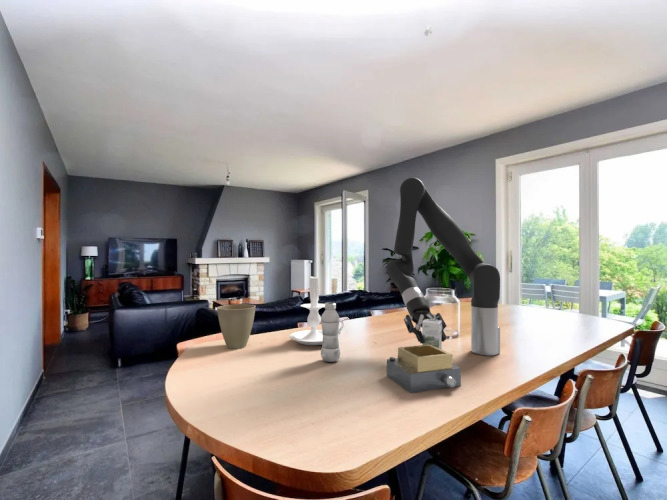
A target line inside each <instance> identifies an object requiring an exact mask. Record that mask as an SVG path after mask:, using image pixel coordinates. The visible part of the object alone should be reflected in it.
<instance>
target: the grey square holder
mask: <svg viewBox="0 0 667 500" xmlns="http://www.w3.org/2000/svg"><path fill="white" fill-rule="evenodd" d="M461 369H462V368H461V367H459V366H457V365H455V364H453V354H452V353H450V352H447V351H445V350H444V349H442V350H441V349H439V348H437V347H434V346H432V345H422V344H419V345H410V346H400V347H397V358H395V357H394V356H393V357H391V356H390V357H389V358H387V359H386V377H388V378H389V379H391V380H392V381H394V382H395V383H396V384H397V385H399V386H400V387H401V388H403V389H404V390H405V391H407V392H408V393H409V394H414V393H422V392H429V391H434V390H435V391H436V390H442V389H450V388H456V387H461V386H462V370H461Z"/></svg>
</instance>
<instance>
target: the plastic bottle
mask: <svg viewBox="0 0 667 500" xmlns="http://www.w3.org/2000/svg"><path fill="white" fill-rule="evenodd" d="M324 304H325V307H324V309H325V310H324V311H323V313H322V315H320V317H321V322H320V324H321V325H320V326H321V330H322V334H323V340H322V344H321V349H320V350H321V351H320V356H321V359H322V361H324V362H327V363H333V362H338V361H339V360H340V357H341V349H340V345H339V344H340V343H339V337H338V329H340V327H339V326H340V322H339V321H340V320H341V318H340V316H339V314H338V312H337V310H336V309H337V303H336V302H325V303H324Z"/></svg>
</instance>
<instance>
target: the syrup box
mask: <svg viewBox="0 0 667 500" xmlns="http://www.w3.org/2000/svg"><path fill="white" fill-rule="evenodd" d="M421 329H422V330H421V333H422V335H423V337H424V339H425V341H424V342H423V343H421V345H432V346H434V347H437V348H439V349H441V350H443V349H442V347H443V345H442V344H443V342H442V321H441V320H431V319H424V320H423V322H422V328H421Z"/></svg>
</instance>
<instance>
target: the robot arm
mask: <svg viewBox="0 0 667 500" xmlns="http://www.w3.org/2000/svg"><path fill="white" fill-rule="evenodd" d="M399 193H400V194H399V195H400V197H399V198H400V203H399V204H400V207H399V208H400V209H399V219H398V224H397V230H396V236H395V241H394V247H393V248H394V249H393V252H394V253H395V254H396V255H398V256H401V258H402V260H396V259H395V260H389V262H388V263H387V265H386V274H387V276H388V278H389V279H390V280H391V281H392V282H393V284H394V285H395V286H396V287H397V289H398V290H399V292H400V294H401V297H402V300H403V303H404V305H405V308H406V310H407V312H408V314H406V315H405V317H404V318H403V321H404V323H405V326H406V329H407V331H408V333H409V334H414V335H415V338H416V339H417V342H419V344H422V343H423V342H424V341H425V339H424V337H423V335H422V330H421V329H422V322H423V320H424V319H431V320H441V321H442V343H443V342H445V341H446V340H447V335H446V332H445V329H446V328H447V324H446V322H445V320H444V319H443V316H442V315H441V313H440V312H437V313H436V314H433V313H432V312H431V308H430V306H429V304H428V302H427V300H426V298H425V295H424V293H423V292H422V291H421V289H420V288H419V285H418V283H417V281H416V279H415V278H414V277H412V275H413V273H414V261H413V260H414V259H413V248H414V241H415V232H416V231H415V230H416V221H417V213H419V215H420V216H421V217H422V219H423V220H424V222H425V224H426V226H427V228H428V229H429V231H431V233H432V235H433V236H434V237H435V239H436V240H437V241H438V242H439V243H440V245H441V246H442V247H443V248H444V249H445V250H446V252H448V253H449V254H450V256H451V257H453V258H454V260H455V261H456V262H457V263H458V264H459V266H460V267H461V268H462V270H463V271H464V273H465V275H466V276H467V277H468V278H467V279H469V281H470V282H471V284H473V295H472V297H471V300H470V307H471V308H470V311H471V312H470V316H471V317H470V322H471V323H470V326H471V327H470V328H471V329H470V330H471V331H470V333H471V334H470V335H471V338H470V341H471V343H470V344H471V345H470V346H471V347H470V348H471V353H474V354H477V355H480V356H481V355H482V356H497V355H498V354H501V328H500V327H499V311H498V310H499V302H500V301H499V300H500V297H501V296H500V295H501V275H500V271H499V270H498V268H497V267H496V265H495V266H494V265H493V264H489V263H486V262H485V261H483V260H482V258H480V256H478V254H477V253H476V252H475V251H474V250H473V248H472V247H471V246H472V245H470V241H469V240H468V238H467V236H466V234H465V233H464V231H463V229H462V228H461V227H460V226H459V225H458V223H457V222H456V220H454V219H453V218H452V217H451V216H450V214H449V213H447V211H445V210H444V209H443V208H442V207H441V206H440V205H438V204H437V202H436V200H435V199H433V197H432V196H431V194H430V193H429V191H428V189H427V188H426V186H425V184H424V182H423V181H422V180H421V179H419V178H417V177H409V178H406V179H405V180H403V181H402V183H401V184H400V186H399ZM413 323H414V324H415V325H414V324H413Z"/></svg>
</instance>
